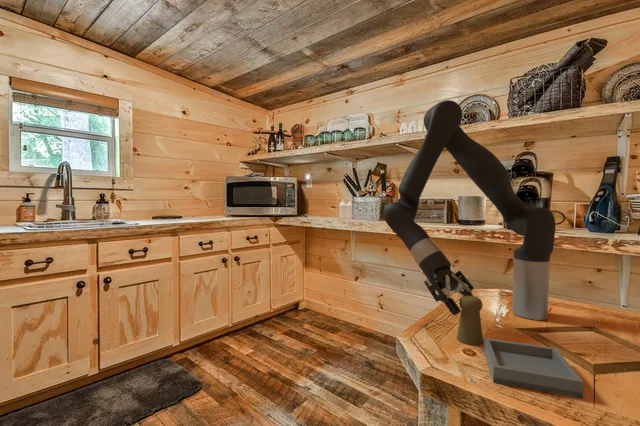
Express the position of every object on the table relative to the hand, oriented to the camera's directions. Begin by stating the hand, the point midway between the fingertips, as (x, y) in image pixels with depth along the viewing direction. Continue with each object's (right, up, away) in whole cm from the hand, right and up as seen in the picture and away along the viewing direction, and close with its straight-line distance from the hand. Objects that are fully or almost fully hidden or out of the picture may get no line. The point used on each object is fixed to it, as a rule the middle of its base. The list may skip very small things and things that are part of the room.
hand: (467, 310), depth 80 cm
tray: (+5, -8, -15) cm, 18 cm away
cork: (0, -8, 0) cm, 8 cm away
